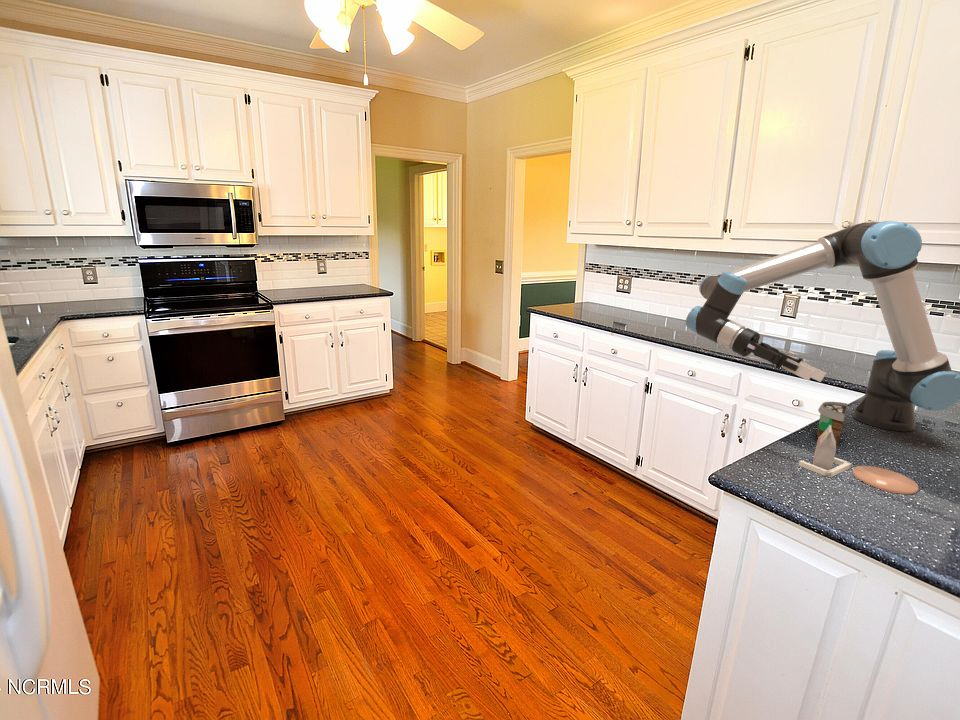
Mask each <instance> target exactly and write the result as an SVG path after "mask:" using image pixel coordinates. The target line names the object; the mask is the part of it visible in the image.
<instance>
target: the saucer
mask: <svg viewBox="0 0 960 720" xmlns="http://www.w3.org/2000/svg"><path fill="white" fill-rule="evenodd" d="M852 475H853V477H854V476H855V477H854V478H855V479H857V480H858V479H859V480H858V481H859V482H861V481H863V482H864V483H863V482H862V483H863V484H865V483H866V484H865V485H867V484H868V485H867V486H869V485H871V486H870V487H872V486H873V488H874V487H875V489H877V488H878V489H877V490H880V489H881V490H882V491H884V492H889V493H893V494H897V493H898V494H900V495H913V494H916V493H917V492H918V490H919V485H918V484H917V482H916V481H914V480H913V479H911V478H909V477H908V476H905V475H903V474H901V473H899V472H895V471H894V470H890V469H886V468H882V467H878V466H872V465H871V466H870V465H858V466H855V467H853V469H852ZM881 490H880V491H881ZM898 494H897V495H898Z"/></svg>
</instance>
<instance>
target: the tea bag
mask: <svg viewBox="0 0 960 720" xmlns="http://www.w3.org/2000/svg"><path fill="white" fill-rule="evenodd" d="M836 452H837V447H836V440H835V438H834V435H833V432H832V428H831V426H830V425H829V426H828V428H827V429H826V430H825V431H824V432H823V433H822V434H821V435H820V436H819V437H818V439H817V441H816V446H815V450H814V453H813V454H814V455H813V457H812V458H813V460H812V465H815V466H817V467H820V468H823V469H825V470H830V469H833V464H834V463H833V461H834V457H835V456H836Z"/></svg>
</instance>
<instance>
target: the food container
mask: <svg viewBox="0 0 960 720" xmlns="http://www.w3.org/2000/svg"><path fill="white" fill-rule="evenodd" d="M847 408H848V403H845V402H840V401H839V402H838V401H825V402H822V404H820V405H819V408H818V409H817V411H818V413H819V421H818V422H819V423H818V428H817V436H816V439H817V438H818V437H819V436H820V435H821V434H822V433H823V432H824V431H825V430H826V429H827V428H828V426H829V425H830V426H831V428H832V432H833V435H834V438H835V440H836V448H838V444H839V440H840V436H841V433H842V428H843V425H844V422H845V417H846V411H847Z"/></svg>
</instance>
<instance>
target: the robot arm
mask: <svg viewBox="0 0 960 720" xmlns="http://www.w3.org/2000/svg"><path fill="white" fill-rule="evenodd" d="M922 240H923V239H922V236H921V233H919V231H918V230H917V229H916V228H915V227H914V226H912V225H911V224H908V223H905V222H902V221H895V220H885V221H877V222H876V221H875V222H873V221H872V222H871V221H870V222H861V223H856V224H853V225H851V226H849V227H846V228H843V229H841V230H837V231H835V232H833V233H830V234H827V235H824V236H822V237H819V238H818V239H817V240H816V242H814V243H811V244H808V245H804V246H802V247H799V248H796V249H793V250H790V251H787V252H784V253H781V254H778V255H775V256H772V257H768V258H766V259H763V260H760V261H756V262H753V263H750V264H748V265H745V266H742V267H739V268H738V267H737V268H736V269H731V270H730V271H723V272H722V273H721V274H717V275H714V274H713V275H709V276H708V275H707V276H706V277H704V278H703V279H702V280H701V281H700V283H699V287H698V289H699V293H700V294H701V296H702V297H703V299H705V300H706V301H705V302H704V304H703V305H702V306H700V305H696V306H695V307H693V308H692V309H691V310H690V311H689V312H688V314H687V316H686V319H685V326H686V328H687V329H689V330H691V332H694V333H695V334H697V335H698V336H701V337H702V338H705V339H707V340H709V341H712V342H714V343H715V344H718V345H720V348H721V349H724V348H726V349H728V350H730V351H731V350H732V352H734V353H735V354H737V355H740V356H741V357H744V358H745V357H748V356H750V354H751V353H752V354H753V356H755V357H758V358H761V359H762V360H766V361H767V362H769V363H770V364H772V365H773V366H774V368H775V369H778V370H780V368H781V369H784V370H786V371H788V372H789V373H792V374H794V375H796V376H798V377H800V378H801V379H804V380H806V381H809V380H811V379H813V380H815V381H817V382H819V383H821V382H822V381H823V379H824V378H825V376H826V375H827V374H828V373H827V372H826V371H824V370H823V371H822V370H820V369H819V368H817V367H814V366H813V365H810V364H808V363H806V362H803V360H804V359H803V358H801V357H799V358H795V357H793V356H790V355H788V354H785V353H784V352H781V351H779V349H777V348H776V347H773V346H771V345H770V344H768V343H765V342H763V341H761V342H760V343H759V340H760V338H761V335H760V333H759V332H758V331H755V330H754V329H751V328H749V327H747V328H746V326H745V325H742V323H741V324H740V323H739V322H736V321H734V320H731V319H729V316H730V315H731V313H732V312H733V310H734V309H735V306H736V305H737V303H738V301H739V300H740V298H742V297H741V296H743V294H744V292H748V291H751V290H754V289H758V288H760V287H763V286H767V285H770V284H773V283H776V282H779V281H780V282H781V281H783V280H786V279H789V278H792V277H796V276H798V275H802V274H806V273H808V272H813V271H815V270H817V269H821V268H826V269H832V268H836V267H839V266H846V265H858V267H859V269H860V273H861V275H862V278H863V280H865V281H867V282H870V283H871V284H872V286H873V290H874V292H875V295H876V298H877V302H878V304H879V309H880V311H881V314H882V317H883V320H884V322H885V325H886V330H887V331H888V335H889V339H890V341H891V345H892V348H893V350H889V349H880V350H878V351H877V352H876V353H875V356H874V358H873V361H872V367H871V371H870V375H869V379H868V382H867V383H868V384H867V387H866V391H865V394H864V395H863V397H862V398H861V400H860V401H859V402H858V403H857V405H856V406H855V408H854V409H853V413H852V417H853V419H855V420H857V421H858V422H860V423H863V424H865V425H868V426H871V427H874V428H879V429H882V430H883V429H884V430H889V431H893V432H894V431H896V432H911V431H914V430H915V428H916V424H917V423H916V420H917V419H916V414H915V413H916V412H915V407H914V406H916V407H919V408H922V409H924V410H927V411H935V412H936V411H943V410H947V409H950V408H952V407H953V406H954V405H957V403H958V402H959V401H960V374H959V373H957V372H955V371H953V370H952V368H951V364H950V361H949V359H948V356H947V354H945V353H943V352H939V351H938V348H937V346H936V343H935V339H934V335H933V333H932V329H931V325H930V323H929V320H928V317H927V313H926V310H925V306H924V304H923V300H922V297H921V294H920V292H919V291H920V290H919V287H918V285H917V282H916V281H917V280H916V277H915V275H914V271H915V269H916V268H917V266H918V265H919V261H918V256H919V252H921V250H922V247H923V241H922Z"/></svg>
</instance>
